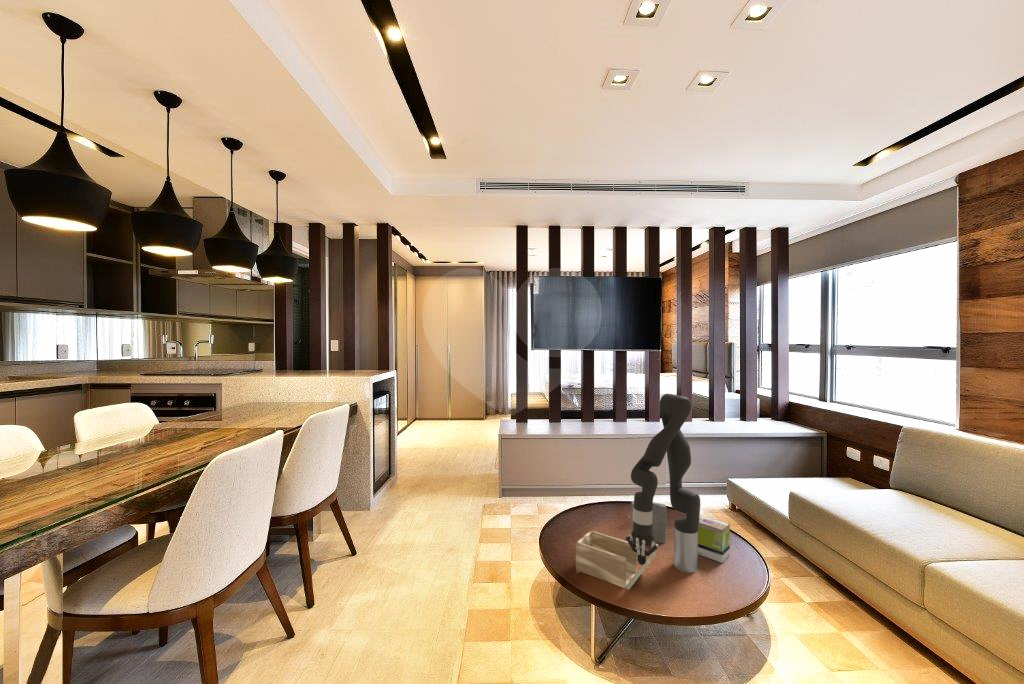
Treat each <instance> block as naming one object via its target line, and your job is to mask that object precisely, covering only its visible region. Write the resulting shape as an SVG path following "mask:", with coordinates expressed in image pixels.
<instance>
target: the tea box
mask: <svg viewBox="0 0 1024 684" xmlns="http://www.w3.org/2000/svg"><path fill="white" fill-rule="evenodd" d="M730 526H731V525H730V522H726V521H723V520H719V519H715V518H713V517H710V516H705V515H702V514H700V517H699V526H698V556H702V557H704V558H707V559H710V560H713V561H715V562H718V563H721V564H722V563H725V561H726V560H727V559H728V558H729V557H730V554H731V553H730V551H731V543H730V542H731V538H730V535H731V531H730V530H731V529H730V528H731V527H730Z"/></svg>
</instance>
